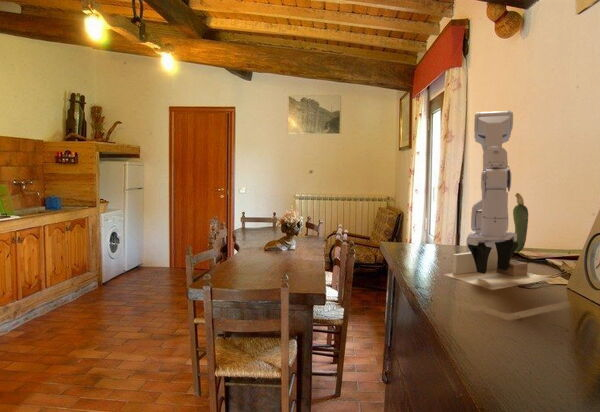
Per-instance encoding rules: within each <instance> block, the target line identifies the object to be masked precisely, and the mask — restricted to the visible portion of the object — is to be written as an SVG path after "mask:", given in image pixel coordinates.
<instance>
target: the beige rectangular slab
mask: <svg viewBox="0 0 600 412" xmlns="http://www.w3.org/2000/svg"><path fill="white" fill-rule="evenodd" d="M497 261H498V256H497V249H492V250H491V251H490V254H489V257H488V261H487V270H489V269H495V268H497ZM475 271H477V269H476V265H475V261H474V258H473V255H472V253H471V252H468V253H466V252H461V253H453V254H452V273H453V274H462V273H469V272H475Z"/></svg>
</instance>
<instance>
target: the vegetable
mask: <svg viewBox="0 0 600 412" xmlns="http://www.w3.org/2000/svg"><path fill="white" fill-rule="evenodd" d="M514 196H515V198H516V203H517V205H515V206H514V208H513V209H512V216H513V223H514V233H517V241H513V242H517V243H518V247H517V249H516V250H515V251H514V253H513V254H515V253H516V254H517V253H518V254H520V253H521V251H523V250H524V247H525V245H526V241H527V234H528V227H529V226H528V223H529V210H528V207H527V206H526V205H525V202H524V198H523V196H522V194H521V193H519V192H517V193H515V195H514Z"/></svg>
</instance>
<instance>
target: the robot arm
mask: <svg viewBox="0 0 600 412" xmlns="http://www.w3.org/2000/svg"><path fill="white" fill-rule="evenodd" d="M473 123H474V126H473V128H474V131H473V132H474V135H473V136H474V139H475V143H478V144H480V145H481V148H482V151H483V153H482V171H481V175H480V188H481V189H480V190H481V199H480V200H478V201H477V202H475V203H474V204H473V205H472V207H471V213H470V214H471V216H470V217H471V218H470V219H471V220H470V230H472V231H471V232H470V233H469V234H468V235H467V237H466V242H465V243H466V244H465V245H466V246H465V248H466V249H465V253H468V252H471V253H472V255H473V258H474V261H475V265H476V269H477V272H478V273H482V274H486V270H487V261H488V257H489V254H490V251H491V250H492V249H497V256H498V269H501V270H507V269H508V266H509V263H510V260H511V259H512V257H513V255H514V254H515V253H514V251H515V250H516V249H517V247H518V243H517V242H513V241H517V233H515V232H511V231H510V232H508V230H509V208H508V205H509V204H508V203H509V192H510V190H511V187H512V172H511V167H510V166H509V164H508V163H509V161H508V151H507V150H506V149H505V148H504V147H503V144H504V143H507V142H509V140H510V138H511V135H512V134H511V133H512V131H513V126H514V113H513V111H512V110H510V109H509V110H502V111H501V110H499V111H481V112H479V111H476V112H475V113H474V122H473Z"/></svg>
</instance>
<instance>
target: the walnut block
mask: <svg viewBox="0 0 600 412" xmlns="http://www.w3.org/2000/svg"><path fill="white" fill-rule="evenodd" d="M497 273H501V274H505V275H508V276H512V277H516V276H522V275H527V273H528V262H524V261H519V260H516V259H512V258H511V260H510V263H509V266H508V269H507V270H501V269H498V261H497Z"/></svg>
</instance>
